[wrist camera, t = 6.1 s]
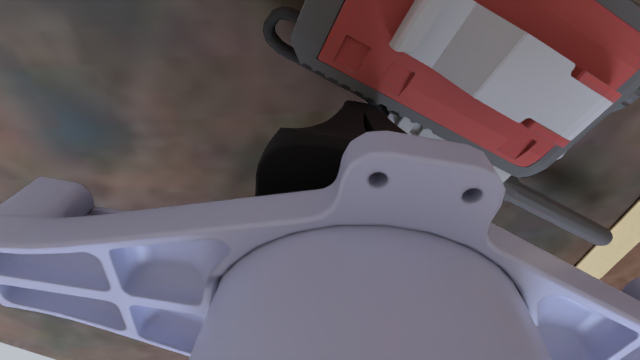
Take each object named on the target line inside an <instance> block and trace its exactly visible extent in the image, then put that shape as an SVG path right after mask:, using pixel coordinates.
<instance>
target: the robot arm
mask: <svg viewBox="0 0 640 360" xmlns="http://www.w3.org/2000/svg"><path fill="white" fill-rule="evenodd" d="M505 191H506V188H505V187H504V185H503V183H502V181H501V179H500V177H499V175H498V173H497V172H496V170H495V169H494V167H493V166H492V164H491V163H490V161H489V160H488V158H487V157H486V155H485V154H484V152H483V151H481V150H478V149H476V148H474V147H472V146H470V145H468V144H462V143H457V142H451V141H445V140H439V139H433V138H427V137H422V136H416V135H410V134H408V133H406V132H405V131H403V130H402V129H401V128H399V127H398V126H397V125H396V124H394V123H393V122H392V121H391V120H390V119H389V118H388V117H387V116H385V115H384V114H383V113H382V112H381V111H380V110H379V109H378V108H377V107H376V106H375V105H372V104H367V103H361V102H355V101H349V100H348V101H346V102H345V103H344V106H343V107H342V108H341V109H340V110H339V111H338V112H337V113H336V114H335V115H334V116H333V117H332V118H330V119H329V120H328V121H326V122H324V123H321V124H318V125H315V126H312V127H307V128H280V129H279V131H278V132H277V133H276V134H275V135H274V137H273V138H272V140H271V141H270V142H269V144H268V145H267V147H266V148H265V150H264V152H263V154H262V157H261V159H260V161H259V164H258V168H257V173H256V193H255V197H247V198H239V199H230V200H222V201H213V202H205V203H196V204H188V205H179V206H171V207H162V208H154V209H145V210H137V211H128V212H126V211H120V210H114V209H108V208H102V207H95V205H94V200H93V197H92V194H91V192H90V191H89V189H88V188H86V187H85V186H84V185H82V184H79V183H76V182H71V181H65V180H59V179H52V178H46V177H38V178H37V179H36V180H34V181H33V182H31V183H30V184H29V185H27V186H26V187H25V188H23V189H22V190H20V191H19V192H18V193H16V194H15V195H13V196H12V197H11V198H9V199H8V200H7V201H5V202H4V203H2V204H1V205H0V303H1V304H2V305H3V306H8V307H14V308H20V309H25V310H30V311H36V312H41V313H45V314H50V315H54V316H58V317H62V318H66V319H71V320H74V321H77V322H81V323H84V324H88V325H91V326H95V327H98V328H101V329H105V330H108V331H111V332H114V333H117V334H120V335H124V336H127V337H130V338H133V339H136V340H139V341H142V342H146V343H149V344H152V345H155V346H158V347H161V348H165V349H168V350H171V351H174V352H177V353H180V354H183V355H187V356H190V357H189V360H640V277H639V278H635V279H634V280H632V281H630V282H629V283H628V284H627V285H626V286H625V287H624V288H623V289H622V291H620V290H618V289H616V288H614V287H612V286H611V285H609V284H607V283H605V282H603V281H601V280H599V279H597V278H595V277H593V276H592V275H590V274H588V273H586V272H584V271H582V270H580V269H578V268H576V267H574V266H573V265H571V264H569V263H567V262H565V261H563V260H561V259H559V258H557V257H555V256H554V255H552V254H550V253H548V252H546V251H544V250H542V249H540V248H538V247H536V246H535V245H533V244H531V243H529V242H527V241H525V240H523V239H521V238H519V237H517V236H516V235H514V234H512V233H510V232H508V231H506V230H504V229H502V228H500V227H498V226H497V225H495V224H493V223H491V221H492V219H493V218H494V216H495V215H496V213H497V212H498V210H499V208H500V207H501V205H502V202H503V198H504V194H505Z"/></svg>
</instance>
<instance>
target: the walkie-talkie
mask: <svg viewBox="0 0 640 360" xmlns="http://www.w3.org/2000/svg"><path fill="white" fill-rule="evenodd" d="M281 19H284V20H288V21H291V22H293V23H295V27H294V29H293V32H292V34H291V37H290V42H291V44H292V46H293V47H292V46H290V45H288V44H286V43H285V42H283V41H282V40H281V38H280V37H279V36H278V35H277V34H276V32H275V25H276V24H277V22H278V21H279V20H281ZM263 33H264V36H265V39H266V42H267V43H268V44H269V45H270V46H271V47H272V48H273V49H274V50H275V51H276V52H277V53H278V54H280V55H282V56H284V57H286V58H287V59H289V60H291V61H293V62H295V63H297V64H299V65H301V66H303V67H305V68H306V69H308V70H310V71H312V72H314V73H316V74H318V75H320V76H322V77H323V78H325V79H327V80H329V81H331V82H333V83H335V84H337V85H339V86H341V87H342V88H344V89H346V90H348V91H350V92H352V93H354V94H356V95H357V96H359V97H361V98H363V99H364V100H366V101H367V102H368V103H369V104H372V105H375V106H376V107H377V108H378V109H379V110H380V111H381V112H382V113H383V114H384V115H385V116H387V117H388V118H389V119H390V120H391V121H392V122H393V123H394V124H396V125H397V126H398V127H399V128H401V129H402V130H403V131H405V132H406V133H408V134H410V135H416V136H422V137H427V138H433V139H439V140H445V141H451V142H457V143H462V144H468V145H470V146H472V147H474V148H476V149H478V150H481V151H483V152H484V154H485V155H486V157H487V158H488V160H489V161H490V163H491V164H492V166H493V167H494V169H495V170H496V172H497V173H498V175H499V177H500V179H501V181H502V183H503V185H504V187H505V188H506V191H505V194H504V198H503V201H509V202H511V203H513V204H515V205H517V206H519V207H521V208H523V209H525V210H527V211H529V212H531V213H533V214H535V215H537V216H539V217H541V218H543V219H545V220H547V221H549V222H551V223H553V224H555V225H557V226H559V227H561V228H563V229H565V230H567V231H569V232H571V233H573V234H575V235H577V236H579V237H581V238H583V239H585V240H587V241H589V242H591V243H592V244H594V245H597V246H605V245H608V244H609V243H610V242H611V241H612V239H613V235H612V233H611V231H610V230H609V229H607V228H605V227H603V226H601V225H599V224H597V223H596V222H594V221H592V220H590V219H588V218H586V217H584V216H582V215H580V214H579V213H577V212H575V211H573V210H571V209H569V208H567V207H565V206H563V205H561V204H560V203H558V202H556V201H554V200H552V199H550V198H548V197H546V196H544V195H542V194H541V193H539V192H537V191H535V190H533V189H531V188H529V187H527V186H525V185H523V184H522V183H520V182H519V180H518V179H517V177H530V176H532V175H534V174H536V173H539V172H541V171H543V170H545V169H546V168H548V167H549V166H550V165H551V164H552V163H553V162H555V161H556V160H558V159H560V158H561V157H562V156H563V155H564V154H565V152H566V151H567V150H568V149H569V148H571V147H572V146H573V145H574V144H575V143H576V142H577V141H579V140H580V139H581V138H582V137H583V136H584V135H585V134H587V133H588V132H589V131H590V130H591V129H592V128H593V127H594V126H596V125H597V124H598V123H599V122H600V121H601V120H602V119H604V118H605V117H606V116H607V115H608V114H609V113H610V112H616V111H618V110H620V109H622V108H624V107H626V106H628V105H629V104H631V103H632V102H633V101H635V100H636V99H637V98H639V97H640V5H639V4H638V3H634V2H632V1H631V0H305V2H304V5H303V7H302V10H301V12H299V11H297V10H295V9H293V8H290V7H284V6H282V7H279V8H277V9H274V10H273V11H272V12H271V13H270V15H269V16H268V17H267V19H266V20H265V22H264V27H263Z"/></svg>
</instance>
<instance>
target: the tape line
mask: <svg viewBox="0 0 640 360" xmlns="http://www.w3.org/2000/svg"><path fill="white" fill-rule="evenodd" d="M610 231H611V233H612V235H613V239H612V241H611V242H610V243H609V244H608V245H605V246H597V245H595V246H594V247H593V248H592V249H591V250H590V251H589V252H588V253H587V254H586V255H585V256H584V257H583V258H582V259H581V260H580V262H579V263H578V264H577V265H576V266H575V267H576V268H578V269H580V270H582V271H584V272H586V273H588V274H590V275H592V276H593V277H595V278H597V279H600V278H601V277H602V276H603V275H605V274H606V273H607V272H608V271H609V270H610V269H611V268H612V267H613V266H614V265H615V264H616V263H617V262H618V261H619V260H620V259H622V258H623V257H624V256H625V255H626V254H627V253H628V252H629V251H630V250H631V249H632V248H633V247H634V246H635V245H636V244H638V243H639V242H640V199H639V200H638V201H637V202H636V203H635V204H634V205H633V206H632V207H631V208H630V209H629V210H628V211H627V212H626V213H625V214H624V216H623V217H622V218H621V219H620V220H619V221H618V222H617V223H616V224H615V225H614V226H613V227H612V228H611V229H610Z"/></svg>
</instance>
